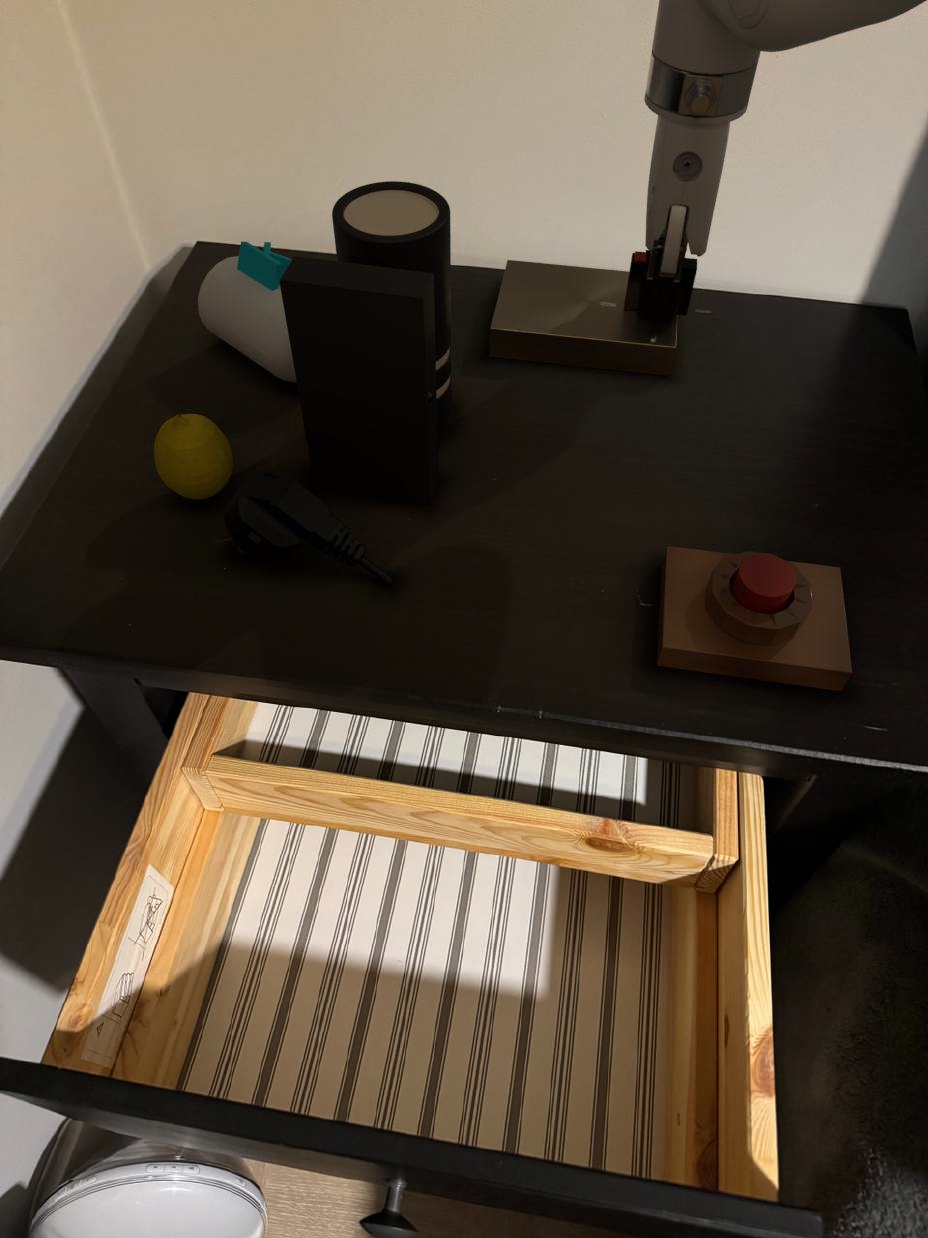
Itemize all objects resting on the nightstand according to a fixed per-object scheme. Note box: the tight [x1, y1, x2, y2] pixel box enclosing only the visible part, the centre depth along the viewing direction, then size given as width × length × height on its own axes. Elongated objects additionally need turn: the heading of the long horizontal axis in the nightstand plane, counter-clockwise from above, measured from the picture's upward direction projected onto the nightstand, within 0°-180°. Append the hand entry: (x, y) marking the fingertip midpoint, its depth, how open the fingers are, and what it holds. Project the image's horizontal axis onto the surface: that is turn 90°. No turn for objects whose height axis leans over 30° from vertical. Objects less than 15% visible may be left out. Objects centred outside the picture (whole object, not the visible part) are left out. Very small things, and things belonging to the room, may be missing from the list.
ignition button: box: [733, 555, 796, 614], centre depth 59 cm, size 4×4×2 cm
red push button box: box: [656, 545, 853, 692], centre depth 61 cm, size 12×9×4 cm
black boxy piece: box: [624, 250, 698, 316], centre depth 78 cm, size 6×2×5 cm, turn 80°
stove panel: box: [488, 259, 712, 377], centre depth 82 cm, size 19×11×3 cm, turn 80°
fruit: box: [153, 413, 234, 501], centre depth 67 cm, size 6×6×8 cm
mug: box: [197, 240, 297, 383], centre depth 79 cm, size 12×9×12 cm
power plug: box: [224, 471, 393, 586], centre depth 65 cm, size 6×8×12 cm
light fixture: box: [279, 180, 453, 507], centre depth 67 cm, size 10×14×18 cm
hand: (656, 304), depth 80 cm, fingers closed
